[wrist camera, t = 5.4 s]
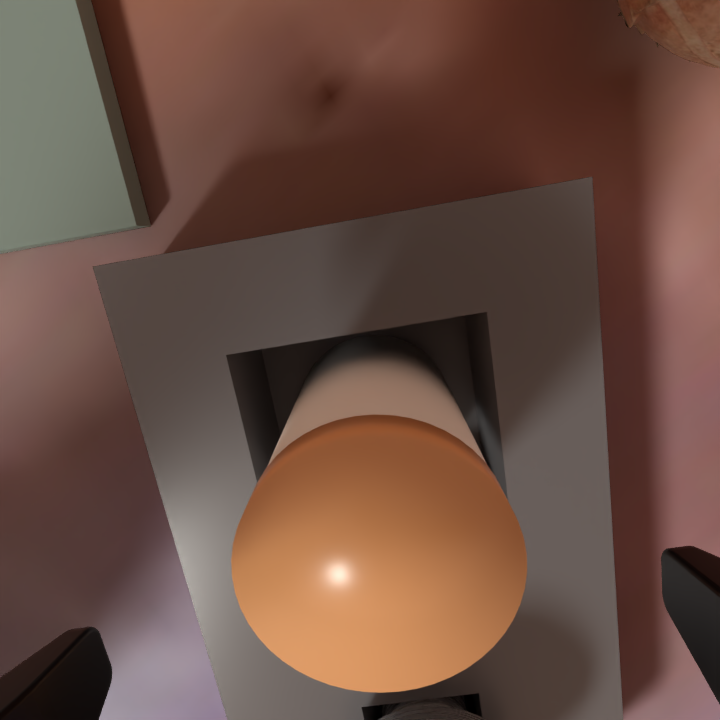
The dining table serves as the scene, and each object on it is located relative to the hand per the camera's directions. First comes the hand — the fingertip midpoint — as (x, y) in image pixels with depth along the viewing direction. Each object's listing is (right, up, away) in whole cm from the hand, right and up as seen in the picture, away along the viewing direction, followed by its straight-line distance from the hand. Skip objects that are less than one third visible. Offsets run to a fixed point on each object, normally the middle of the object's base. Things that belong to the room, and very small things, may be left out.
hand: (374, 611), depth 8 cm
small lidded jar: (0, +2, +9) cm, 9 cm away
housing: (+1, -2, +10) cm, 11 cm away
